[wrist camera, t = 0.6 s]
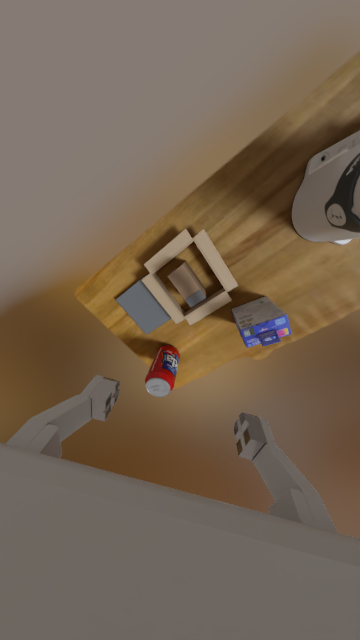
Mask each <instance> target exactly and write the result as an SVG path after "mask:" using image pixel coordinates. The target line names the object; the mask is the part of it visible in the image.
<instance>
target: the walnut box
mask: <svg viewBox="0 0 360 640" xmlns="http://www.w3.org/2000/svg"><path fill="white" fill-rule="evenodd" d="M167 277H168V278H169V279H170V281H171V282H172V283H173V285H174V286H175V287H176V289H177V290H178V291H179V293H180V294H181V295H182V297H183V298H184V299H185V301H186V302H187V304H188V305H189V306H190V307H193V306H194V305H196V304H197V303H199V302H201V301H202V300H204V299H205V298H206V290H205V287H204V286H203V285H202V283H201V282H200V280H199V279H198V277H197V276H196V274H195V273H194V271H193V270H192V268H191V267H190V265H189V264H188V263H187V261H185V262H184V263H183V264H181V265H180V266H179V267H178V268H176V269H175V270H174V271H172V272H171V273H170V274H169V275H168V276H167Z"/></svg>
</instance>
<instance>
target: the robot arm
mask: <svg viewBox="0 0 360 640" xmlns="http://www.w3.org/2000/svg"><path fill="white" fill-rule="evenodd" d="M322 157H323V158H324V160H323V161H321V158H322ZM292 222H293V225H294V228H295V230H296V231H297V233H298V234H299V235H300V236H301V237H303V238H305V239H307V240H309V241H315V242H321V241H329V242H331V243H334V244H337V245H343V244H346V243H348V242H349V241H351V240H352V239H356V238H360V130H359V131H358V132H356V133H354V134H352V135H350V136H349V137H347V138H345V139H343V140H341V141H340V142H338V143H336V144H334V145H332V146H331V147H329V148H327V149H325V150H324V151H322V152H320V153H318V154H316V155H315V156H313V157H312V158H311V159H310V160H309V162H308V164H307V167H306V172H305V177H304V180H303V182H302V184H301V186H300V188H299V190H298V192H297V194H296V196H295V199H294V202H293V206H292ZM119 385H120V381H117V380H114V379H110V378H106V377H103V376H99V375H97V376H95V377H94V378H93V379H92V381H91V382H90V383H89V384H88V386H87V387H86V388H85V389H84V391H83V392H82V393H81V394H80V395H76V396H74V397H72V398H70V399H68V400H66V401H64V402H62V403H60V404H58V405H56V406H54V407H52V408H50V409H48V410H46V411H44V412H42V413H40V414H38V415H36V416H34V417H32V418H30V419H29V420H28V421H27V422H26V423H25V424H24V426H22V428H21V429H19V431H18V432H17V433H16V434H15V435H14V436H13V437H12V438H11V439H10V440H9V441H8V442H7V443H6V444H4V443H0V640H360V539H359V538H355V537H352V536H348V535H344V534H341V533H337V530H336V528H335V526H334V524H333V522H332V520H331V518H330V516H329V514H328V511H327V509H326V507H325V505H324V503H323V501H322V499H321V496H320V495H319V493H318V492H317V491H316V490H315V489H314V487H313V486H312V485H311V484H310V483H309V482H308V480H307V479H306V478H305V477H304V476H303V474H302V473H301V472H300V471H299V470H298V469H297V467H296V466H295V465H294V464H293V463H292V462H291V460H290V459H289V458H288V457H287V456H286V454H285V453H284V452H283V451H282V450H281V449H280V447H277V445H276V442H275V440H274V437H273V435H272V432H271V429H270V427H269V424H268V422H267V420H266V419H265V418H261V417H257V416H254V415H250V414H246V413H241V414H240V415H239V418H240V419H239V420H237V421H236V423H235V426H234V434H235V437H236V439H237V440H238V442H237V443H236V445H237V451H238V456H239V457H242V458H246V459H249V460H253V461H252V462H253V464H254V465H255V467H256V469H257V471H258V472H259V474H260V476H261V477H262V479H263V481H264V483H265V484H266V486H267V488H268V489H269V491H270V493H271V494H272V496H273V498H274V500H275V501H276V502H274V503H273V504H272V505H271V506H270V507H269V509H268V510H269V513H270V514H266V513H262V512H258V511H255V510H251V509H247V508H243V507H240V506H236V505H232V504H228V503H224V502H221V501H217V500H213V499H210V498H206V497H202V496H198V495H194V494H191V493H187V492H183V491H180V490H176V489H172V488H168V487H165V486H161V485H157V484H153V483H150V482H146V481H142V480H139V479H135V478H131V477H127V476H124V475H120V474H116V473H112V472H108V471H105V470H101V469H97V468H94V467H90V466H86V465H82V464H78V463H75V462H71V461H67V460H64V459H60V457H61V455H62V449H61V444H60V442H61V441H63V440H64V439H65V438H67V437H68V436H69V435H71V434H72V433H73V432H75V431H76V430H77V429H79V428H80V427H81V426H82V425H84V424H85V423H87V422H88V421H89V420H91V418H93V419H97V420H102V421H106V419H107V417H108V415H109V413H110V412H111V406H113V405H114V404H115V402H116V400H117V397H118V395H119V389H118V387H119Z"/></svg>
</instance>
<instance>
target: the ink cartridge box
mask: <svg viewBox="0 0 360 640" xmlns="http://www.w3.org/2000/svg"><path fill="white" fill-rule="evenodd" d="M231 310H232V313H233V316H234V319H235V322H236V325H237V328H238V330H239V332H240V335H241V337H242V339H243V341H244V343H245V345H246V347H251V346H254V345H257V344H260V343H261V344H262V346H266V345H269V344H273V343H276V342H280V339H279V338H280V337H284V336H287V335H290V334H291V330H290V326H289V321H288V316H287V314H286V313H285V312H284V311H282V310H281V309H280V308H279V307H278V306H277V305H276V304H274V303H273V302H272V301H271V300H270V299H269V298H268V297H267V296H265V297H262V298H260V299H257V300H254V301H252V302H249V303H246V304H244V305H241V306H238V307H236V308H233V309H231ZM270 340H271V341H270Z"/></svg>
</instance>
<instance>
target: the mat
mask: <svg viewBox="0 0 360 640" xmlns="http://www.w3.org/2000/svg"><path fill="white" fill-rule="evenodd" d="M145 277H146V276H144V277H143V278H145ZM143 278H142V279H143ZM142 279H141V280H139V281H138V282H137V283H136V284H134V285H133V286H132V287H131V288H130V289H128V290H127V291H126V292H125V293H123V294H122V295H121V296H120V297H119V298H117V299H116V301H117V302H118V303H119V304H120V305H121V306H122V308H123V309H124V310H125V311H126V312H127V313H128V314H129V315H130V317H131V318H132V319H133V320H134V321H135V322H136V323H137V324H138V326H139V327H140V328H141V329H142V330H143V331H144V332H145V334H146V335H147V334H148V333H150V332H151V331H153V330H154V329H156V328H157V327H159V326H160V325H162V324H163V323H165V322H167V321H168V320H170V319H171V317H170V315H169V314H168V313H167V312H166V310H165V309H164V308H163V307H162V305H161V304H160V303H159V302H158V300H157V299H156V298H155V297H154V295H153V294H152V293H151V292H150V290H149V289H148V288H147V287H146V285H145V284H144V283H143V282H142Z"/></svg>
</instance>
